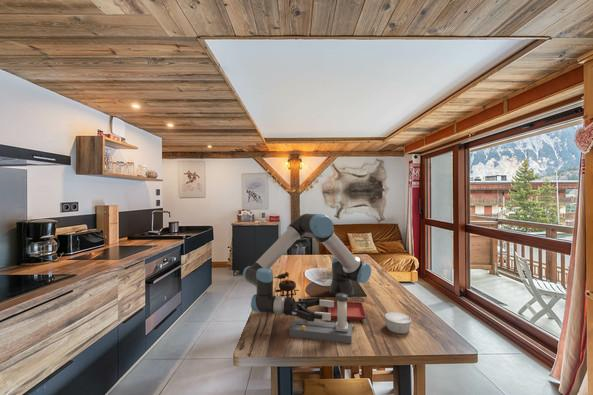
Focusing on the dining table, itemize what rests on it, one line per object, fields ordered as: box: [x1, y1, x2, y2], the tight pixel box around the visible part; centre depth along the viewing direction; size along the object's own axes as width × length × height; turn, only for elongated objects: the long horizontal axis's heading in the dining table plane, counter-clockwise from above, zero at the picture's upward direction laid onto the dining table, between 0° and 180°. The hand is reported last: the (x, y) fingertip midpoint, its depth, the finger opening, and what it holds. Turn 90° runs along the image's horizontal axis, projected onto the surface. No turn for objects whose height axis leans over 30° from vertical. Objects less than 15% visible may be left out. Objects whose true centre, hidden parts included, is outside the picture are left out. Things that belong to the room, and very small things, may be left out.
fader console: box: [289, 318, 353, 344], centre depth 111 cm, size 26×10×4 cm, turn 77°
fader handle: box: [335, 293, 349, 332], centre depth 110 cm, size 5×6×14 cm
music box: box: [273, 271, 300, 298], centre depth 140 cm, size 15×11×20 cm
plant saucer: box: [327, 300, 367, 322], centre depth 132 cm, size 18×18×3 cm
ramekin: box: [384, 311, 412, 335], centre depth 116 cm, size 11×11×5 cm
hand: (332, 310), depth 110 cm, fingers open, 13 cm apart
